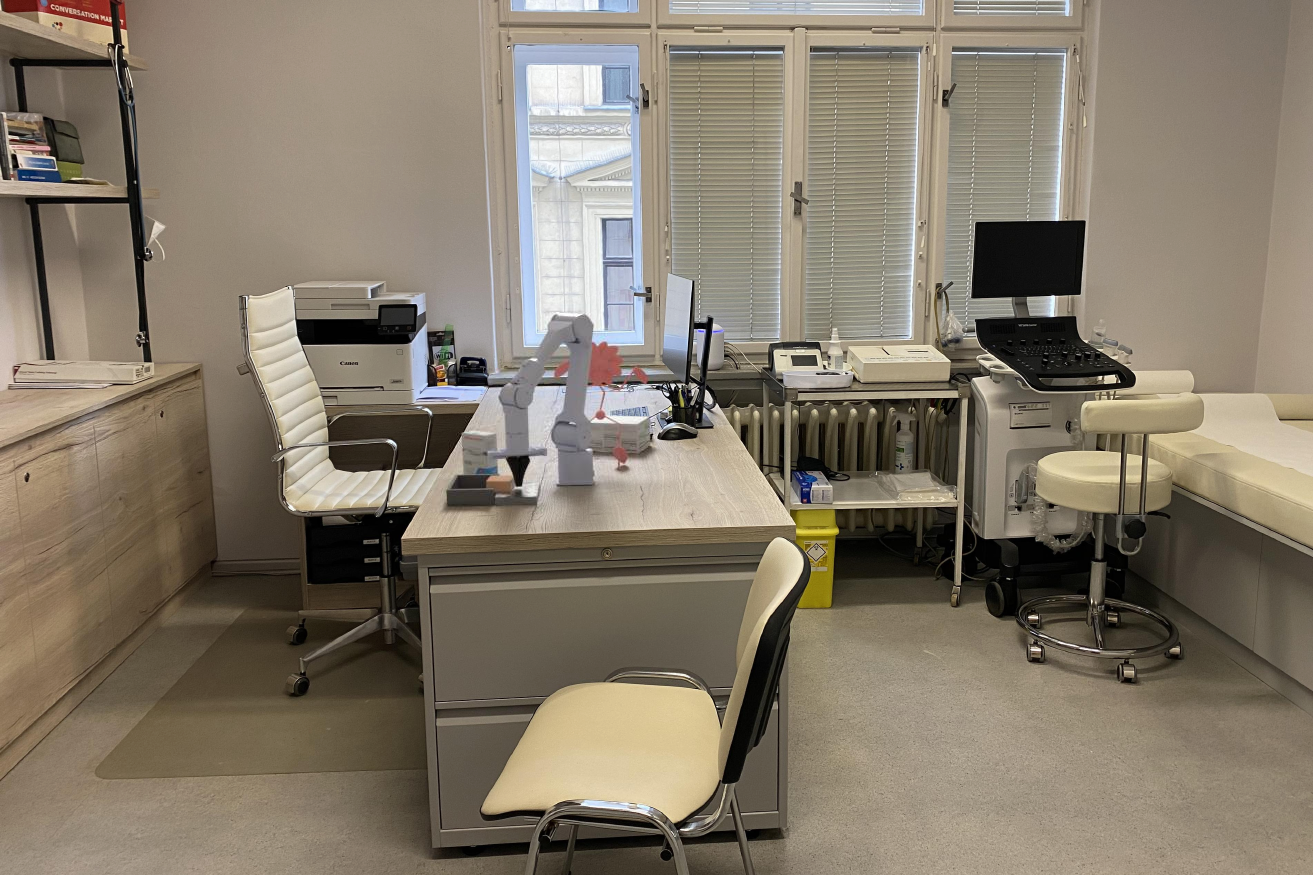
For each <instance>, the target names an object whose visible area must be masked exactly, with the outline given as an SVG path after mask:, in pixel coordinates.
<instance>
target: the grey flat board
mask: <svg viewBox="0 0 1313 875" xmlns="http://www.w3.org/2000/svg"><path fill="white" fill-rule="evenodd" d="M540 492H541V480H523V484H522V487H516V486H514V487H513V489H512V490H511V491H497V493H496V496H495V504H494V506H526V505H527V506H532V505H535V506H536V505H538V502H539V496H540Z"/></svg>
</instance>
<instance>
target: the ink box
mask: <svg viewBox="0 0 1313 875" xmlns="http://www.w3.org/2000/svg"><path fill="white" fill-rule="evenodd" d="M497 443H498V441H497V433H496V432H489V431H479V430H469V431H465V432H461V448H462V451H461V452H462V469H463V470H462V474H499V470H498V468H499V466H498V464H499V463H498V459H494V460H488V451H495V450H498V446H497Z"/></svg>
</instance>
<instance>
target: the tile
mask: <svg viewBox="0 0 1313 875" xmlns="http://www.w3.org/2000/svg"><path fill="white" fill-rule="evenodd" d="M514 486H515V481H514V477H513V475H500V476H490V477H489V478H488V480H487V481H486V489H492V488H494V491H511V490H512V489H513V487H514Z"/></svg>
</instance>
